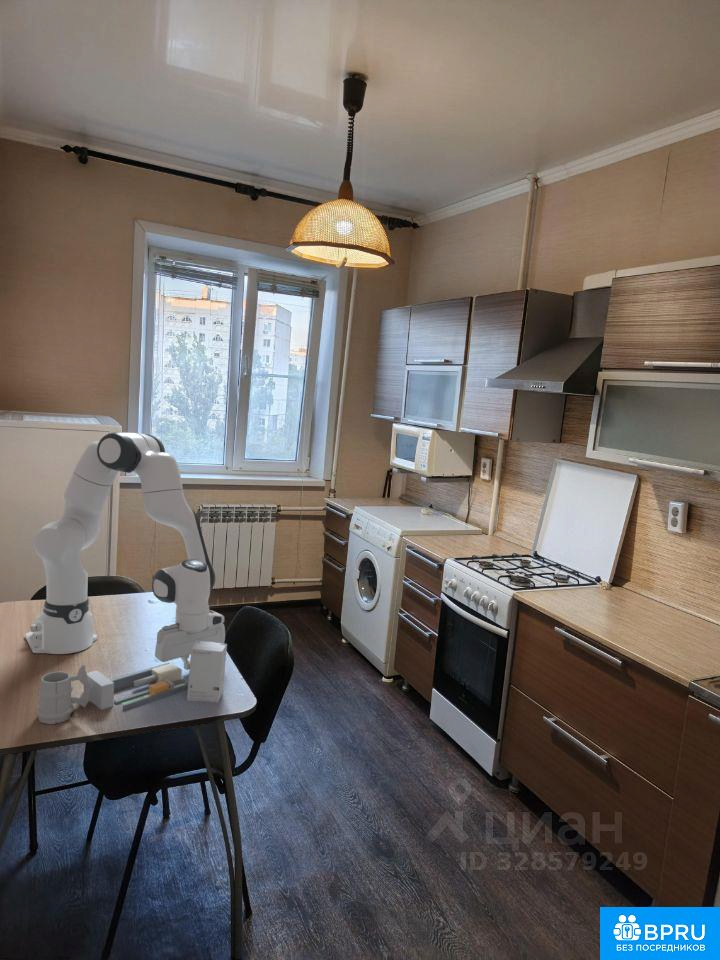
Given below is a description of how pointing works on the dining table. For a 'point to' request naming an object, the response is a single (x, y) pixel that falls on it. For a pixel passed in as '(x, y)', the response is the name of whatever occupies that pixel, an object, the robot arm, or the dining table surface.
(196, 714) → the dining table surface
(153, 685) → the orange rectangular block
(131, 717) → the dining table surface
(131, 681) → the base
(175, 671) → the cream block with rods
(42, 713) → the mug
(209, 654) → the skincare box
